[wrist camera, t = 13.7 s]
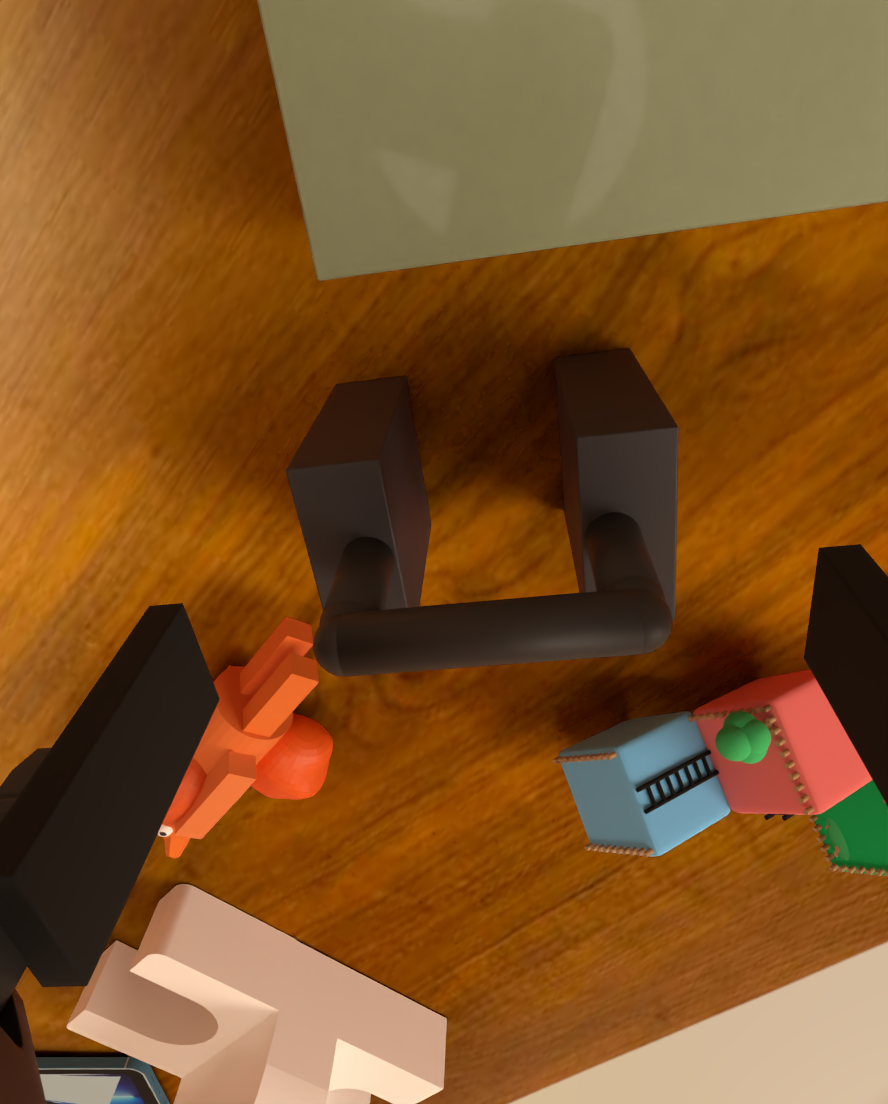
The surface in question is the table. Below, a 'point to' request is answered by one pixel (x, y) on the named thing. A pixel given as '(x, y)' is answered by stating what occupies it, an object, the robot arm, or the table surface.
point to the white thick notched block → (256, 1014)
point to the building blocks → (731, 774)
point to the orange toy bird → (254, 738)
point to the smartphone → (99, 1081)
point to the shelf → (570, 120)
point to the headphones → (404, 528)
